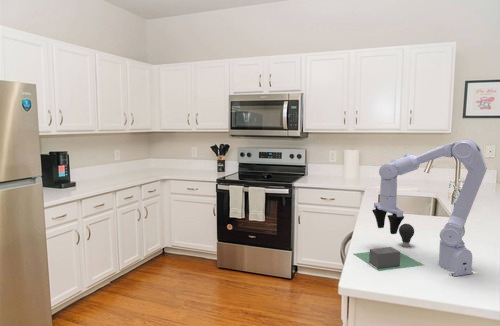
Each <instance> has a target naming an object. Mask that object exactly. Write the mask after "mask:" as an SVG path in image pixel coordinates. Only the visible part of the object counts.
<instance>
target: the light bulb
mask: <svg viewBox="0 0 500 326" xmlns="http://www.w3.org/2000/svg"><path fill="white" fill-rule="evenodd" d="M398 233H399V236H400V237H401V241H402V246H403V247H405V248H406V247H407V248H409V247H410V243H411V240H412V238H413V237H414V235H415V228H414V226H412V225H411V224H409V223H402V224H400V225H399V228H398Z"/></svg>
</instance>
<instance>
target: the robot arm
mask: <svg viewBox="0 0 500 326" xmlns="http://www.w3.org/2000/svg"><path fill="white" fill-rule="evenodd" d="M402 156H403V157H401V158H397V159H392V160H390V162H388V163H383V164H382V165H381V166H380V167H379V170H378V174H379V176H380V188H379V189H380V190H379V191H380V193H379V202H374V203H373V209H372V210H371V211H372V213H373V216H374V217H375V220H376V224H377V228H378V229H384V227H385V223H386V221H385V220H386V216H387V219H388V222H389V230H390V234H391V235H396V234H397V233H398V232H399V228H400V226H401V223H402V221H403V220H404V219H405V216H404V211H403V210H402V209H400V208H399V207H397V198H398V197H397V193H398V191H397V190H398V176H403V175H405V174H408V173H411V172H414V171H416V170H418V169H419V167H420V165H422V164H425V163H427V162H430V161H433V160H436V159H439V158H442V157H445V158H455V159H457V161H459V162H460V163H462V165H463V166H464V168H465V169H466V171H467V173H466V175H465V176H466V177H465V179H464V181H463V184H462V187H461V189H460V192H459V195H458V196H457V199H456V201H455V204H454V207H453V210H452V212H451V215H450V217H449V219H448V221H447V222H446V224H445V225H444V227H443V228H442V229H440V233H439V238H440V239H439V248H438V249H439V252H438V266H439V267H441V268H443V269H446V270H449V271H450V272H452V273H450V275H451V276H452V277H458V276H465V275H472V274H474V272H473V271H472V270H473V269H472V268H473V266H472V265H473V253H472V251H471V250H469V249H468V248H467V247H466V245H465V242H464V240H463V237H464V236H465V233H466V229H465V225H466V222H467V219H468V218H469V214H470V212H471V210H472V207H473V204H474V202H475V199H476V196H477V194H478V193H479V189H480V186H481V185H482V182H483V180H484V177H485V175H486V174H487V173H486V172H487V166H486V163H485V159H484V157H483V153H482V149H481V148H480V146H479V145H478V144H477V143H476V142H475V141H474V140H472V139H463V140H459V141H455V142H451V143H446V144H443V145H440V146H438V147H435V148H433V149H431V150H428V151H426V152H424V153H420V154H418V155H414V154H408V153H406V154H404V155H402ZM374 208H375V209H374ZM387 213H389V214H387Z"/></svg>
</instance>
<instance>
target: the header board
mask: <svg viewBox="0 0 500 326" xmlns="http://www.w3.org/2000/svg"><path fill="white" fill-rule="evenodd" d="M369 254H370V251H367V252H357V253H353V255H354V256H356V257H357V258H358V259H360V260H362V261H363V262H364V263H366V264H367V265H369V266H370V267H372V268H374V269H375V270H376V271H378V272H382V271H383V272H384V271H391V270H396V269H397V270H398V269H406V268H414V267H421V266H424V264H423V263H421V262H420V261H417V260H416V259H414V258H412V257H410V256H409V255H407V254H404V253H402V252H400V266H395V267H387V268H379V269H378V268H376V267H375V266H373V265H372V264H370V263H369Z"/></svg>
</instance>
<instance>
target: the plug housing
mask: <svg viewBox="0 0 500 326" xmlns="http://www.w3.org/2000/svg"><path fill="white" fill-rule="evenodd" d="M369 252H370V254H369V263H370V264H372V265H373V266H375V267H376V268H378V269H379V268H387V267H395V266H400V253H401V251H400V250H398V249H396V248H394V247H393V246H385V247H377V248H370V249H369Z"/></svg>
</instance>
